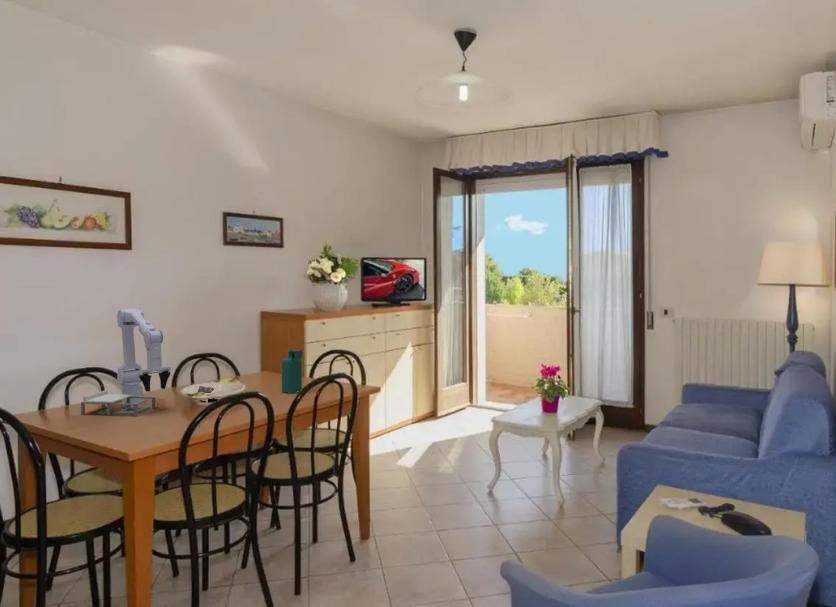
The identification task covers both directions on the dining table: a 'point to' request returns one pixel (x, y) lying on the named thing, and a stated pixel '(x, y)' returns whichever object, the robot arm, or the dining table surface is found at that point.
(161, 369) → the robot arm
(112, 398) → the lid
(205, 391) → the caster wheel
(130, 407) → the grey base stand
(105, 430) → the dining table surface
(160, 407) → the brown round cylinder
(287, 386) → the teal bottle
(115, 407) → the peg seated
